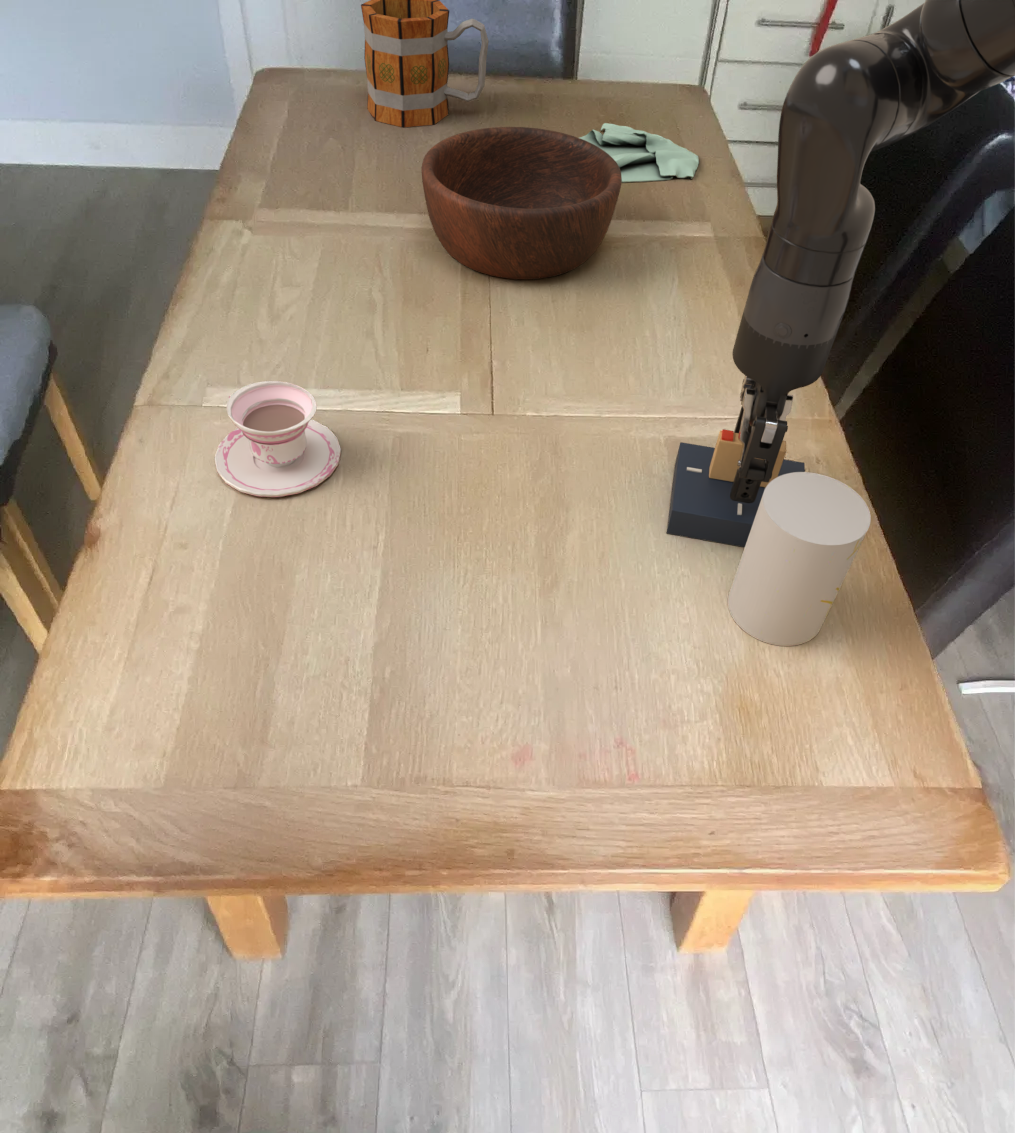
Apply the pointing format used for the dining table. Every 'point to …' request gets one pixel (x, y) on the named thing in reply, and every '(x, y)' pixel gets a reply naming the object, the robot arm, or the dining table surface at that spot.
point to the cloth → (644, 154)
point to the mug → (412, 61)
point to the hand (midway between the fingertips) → (742, 469)
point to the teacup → (275, 441)
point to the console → (711, 500)
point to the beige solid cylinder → (797, 557)
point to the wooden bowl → (520, 199)
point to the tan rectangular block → (735, 458)
